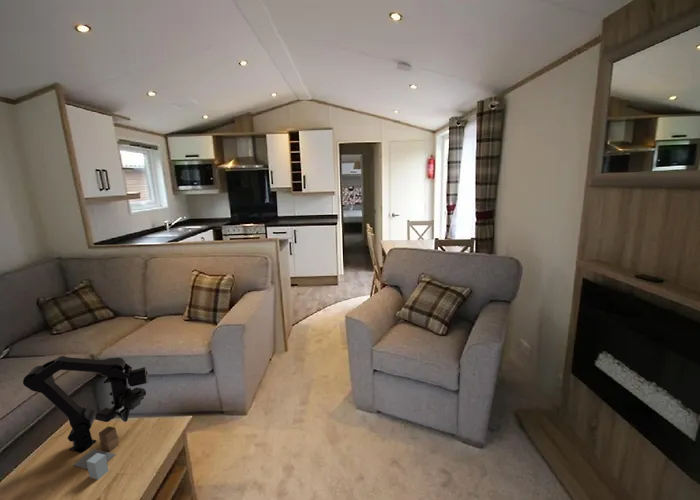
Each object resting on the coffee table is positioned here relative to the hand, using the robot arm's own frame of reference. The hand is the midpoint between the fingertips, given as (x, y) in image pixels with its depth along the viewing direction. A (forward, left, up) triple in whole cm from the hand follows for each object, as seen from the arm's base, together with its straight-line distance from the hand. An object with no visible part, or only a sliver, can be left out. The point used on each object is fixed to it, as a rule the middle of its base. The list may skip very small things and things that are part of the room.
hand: (125, 421), depth 143 cm
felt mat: (0, -14, -6) cm, 16 cm away
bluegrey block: (+8, -19, -6) cm, 21 cm away
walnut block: (0, -8, -6) cm, 10 cm away
